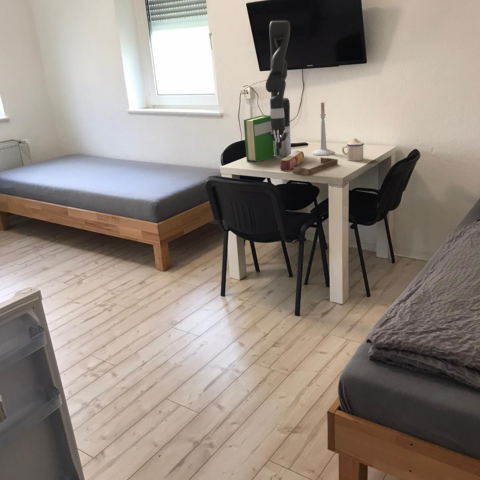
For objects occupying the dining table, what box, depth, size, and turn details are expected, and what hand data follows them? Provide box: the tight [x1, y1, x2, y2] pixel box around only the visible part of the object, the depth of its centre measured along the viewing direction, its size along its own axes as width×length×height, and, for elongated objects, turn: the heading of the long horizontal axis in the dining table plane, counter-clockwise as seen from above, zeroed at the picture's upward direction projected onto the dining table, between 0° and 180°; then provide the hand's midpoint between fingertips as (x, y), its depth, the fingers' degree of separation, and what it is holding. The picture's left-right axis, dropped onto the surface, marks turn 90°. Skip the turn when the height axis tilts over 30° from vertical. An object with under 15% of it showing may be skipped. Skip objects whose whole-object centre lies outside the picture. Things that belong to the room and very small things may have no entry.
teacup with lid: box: [341, 137, 365, 162], centre depth 285 cm, size 12×9×12 cm
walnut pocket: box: [292, 157, 339, 176], centre depth 272 cm, size 10×26×3 cm, turn 137°
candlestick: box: [312, 101, 335, 157], centre depth 302 cm, size 13×13×30 cm
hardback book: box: [243, 114, 275, 163], centre depth 303 cm, size 18×7×24 cm, turn 141°
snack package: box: [279, 150, 305, 171], centre depth 282 cm, size 21×7×7 cm, turn 153°
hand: (279, 148), depth 285 cm, fingers closed
